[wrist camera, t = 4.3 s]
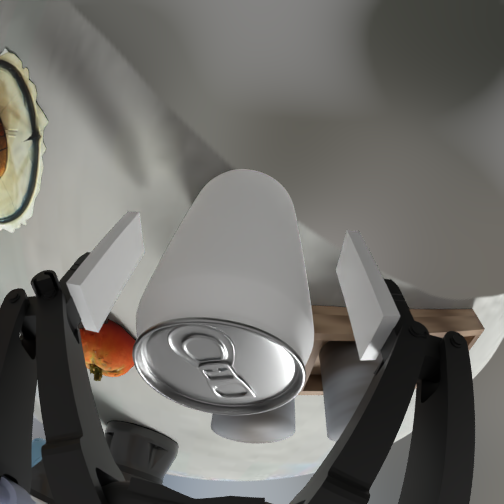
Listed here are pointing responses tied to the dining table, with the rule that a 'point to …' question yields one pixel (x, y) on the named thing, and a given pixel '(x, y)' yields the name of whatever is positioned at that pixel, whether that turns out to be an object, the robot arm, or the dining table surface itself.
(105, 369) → the tomato
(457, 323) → the socket rail
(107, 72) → the dining table surface
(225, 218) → the can
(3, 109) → the decorative vase
